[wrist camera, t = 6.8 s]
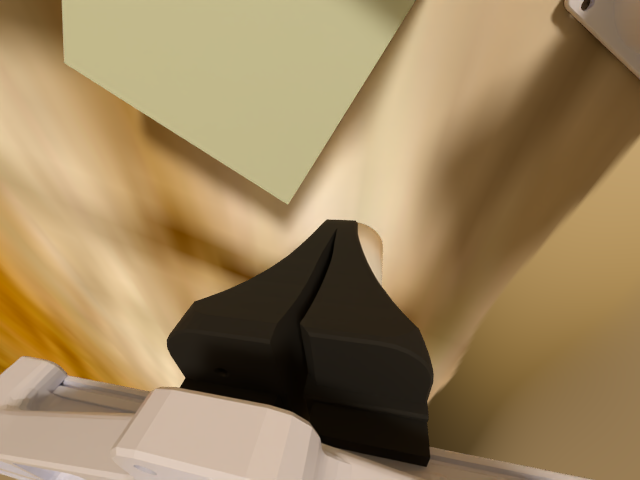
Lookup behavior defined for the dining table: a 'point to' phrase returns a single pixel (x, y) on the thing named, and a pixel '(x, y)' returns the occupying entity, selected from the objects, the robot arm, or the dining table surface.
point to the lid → (236, 71)
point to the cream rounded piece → (372, 249)
